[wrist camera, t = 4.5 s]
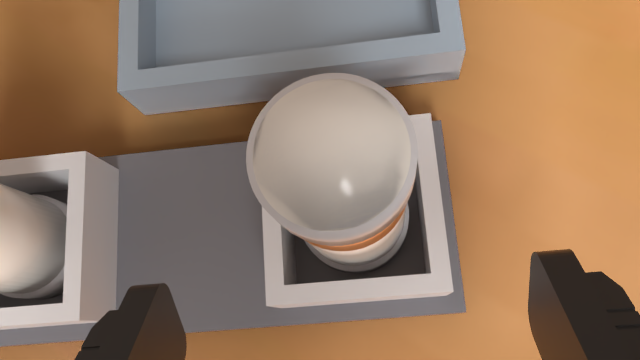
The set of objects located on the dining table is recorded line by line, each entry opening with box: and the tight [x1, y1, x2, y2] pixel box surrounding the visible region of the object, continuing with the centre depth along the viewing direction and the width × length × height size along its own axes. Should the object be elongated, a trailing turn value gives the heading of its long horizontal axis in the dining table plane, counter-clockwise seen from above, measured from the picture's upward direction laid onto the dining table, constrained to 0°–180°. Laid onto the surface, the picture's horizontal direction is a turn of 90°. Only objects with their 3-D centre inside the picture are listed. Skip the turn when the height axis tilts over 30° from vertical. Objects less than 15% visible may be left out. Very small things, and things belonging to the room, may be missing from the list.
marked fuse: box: [246, 73, 418, 274], centre depth 17 cm, size 4×4×8 cm
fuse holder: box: [0, 113, 466, 347], centre depth 21 cm, size 19×7×4 cm, turn 94°
